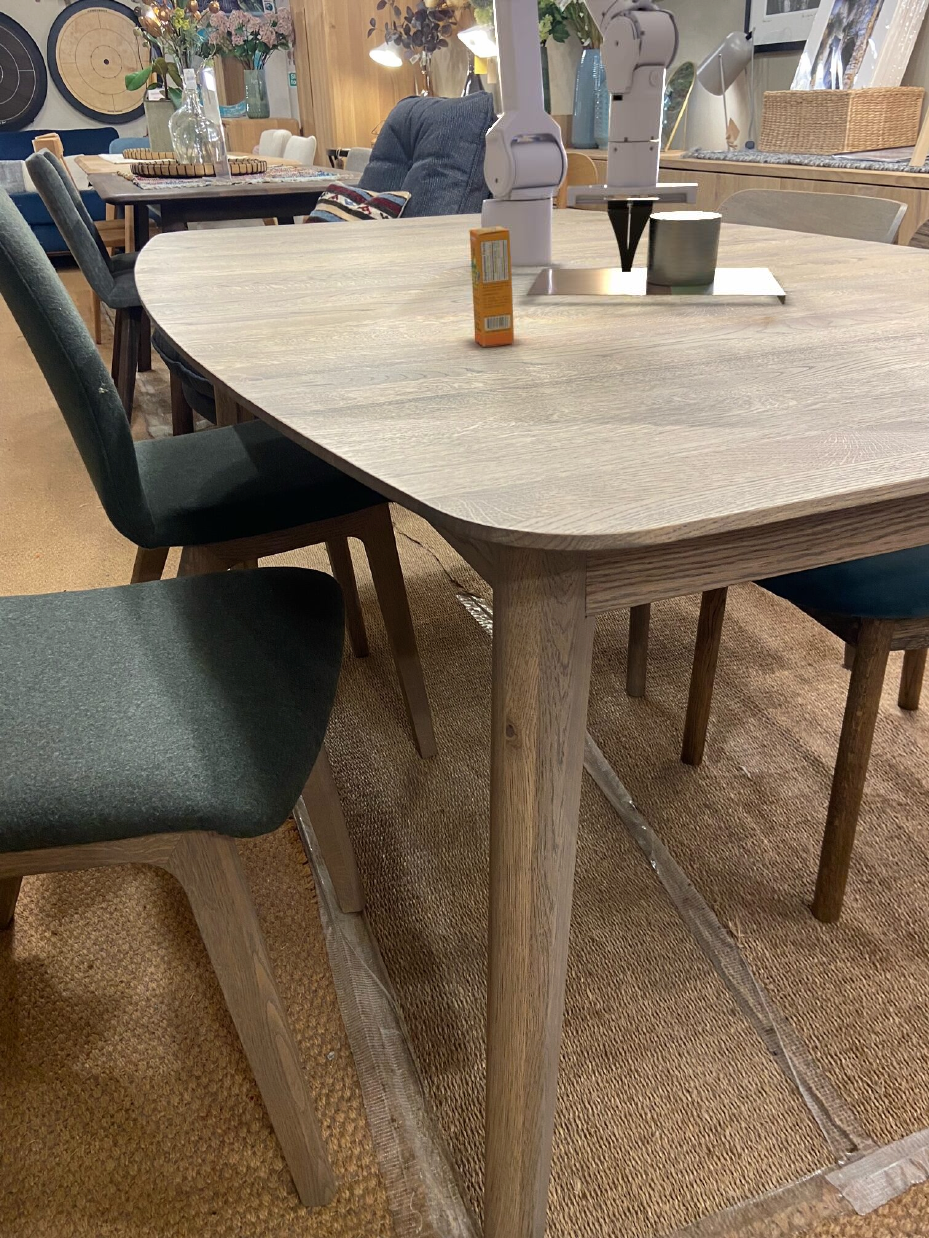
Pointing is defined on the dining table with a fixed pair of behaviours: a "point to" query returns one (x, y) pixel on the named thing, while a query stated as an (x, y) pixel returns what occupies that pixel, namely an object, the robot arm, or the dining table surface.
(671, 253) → the grey metal cylinder
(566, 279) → the board
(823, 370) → the dining table surface
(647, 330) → the dining table surface
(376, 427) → the dining table surface
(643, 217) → the robot arm
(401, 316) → the dining table surface
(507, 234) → the supplement box
